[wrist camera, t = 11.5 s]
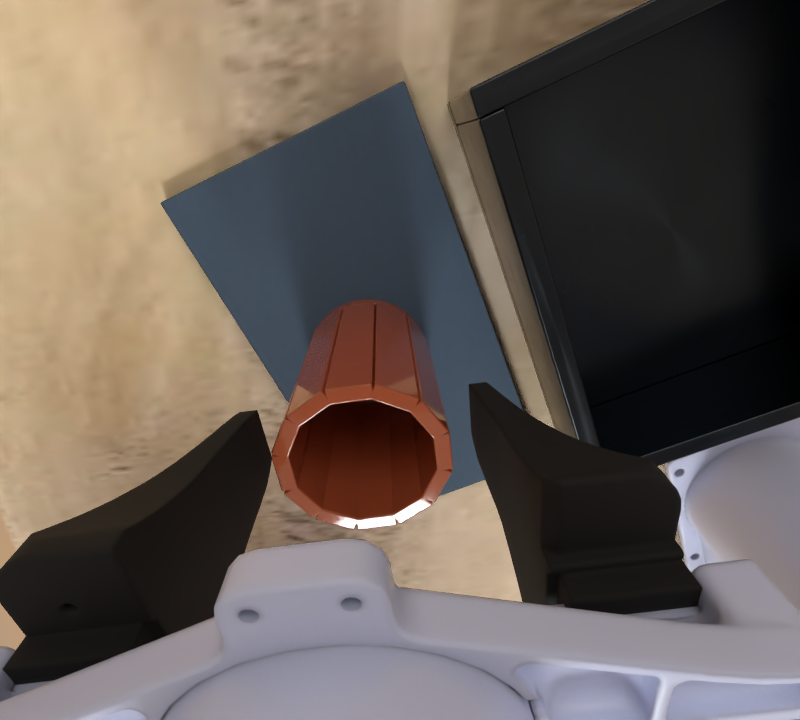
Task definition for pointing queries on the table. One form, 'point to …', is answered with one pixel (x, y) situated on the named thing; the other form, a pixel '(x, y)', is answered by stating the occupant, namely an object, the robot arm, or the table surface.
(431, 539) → the table surface
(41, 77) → the table surface
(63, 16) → the table surface
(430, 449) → the tumbler
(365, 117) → the mat
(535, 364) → the tub
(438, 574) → the table surface
